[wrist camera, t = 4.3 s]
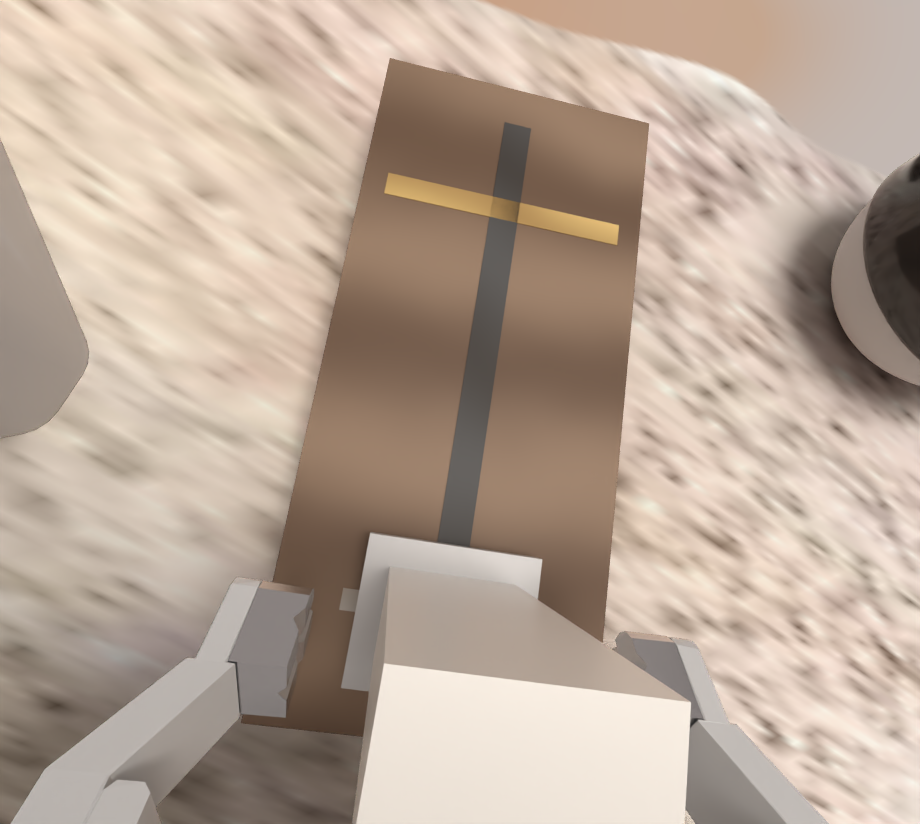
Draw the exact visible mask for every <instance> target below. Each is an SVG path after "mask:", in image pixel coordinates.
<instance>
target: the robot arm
mask: <svg viewBox="0 0 920 824" xmlns="http://www.w3.org/2000/svg"><path fill="white" fill-rule="evenodd" d="M313 599H314V588H308V587H301V586H295V585H288V584H281V583H274V582H268V581H263V580H256V579H249V578H241V577H236V578H235V580H234V581H233V582H232V583H231V585H230V587H229V589H228V591H227V593H226V595H225V597H224V599H223V601H222V603H221V605H220V607H219V610H218V612H217V614H216V616H215V618H214V620H213V622H212V624H211V626H210V628H209V630H208V632H207V634H206V637H205V639H204V641H203V643H202V645H201V647H200V649H199V651H198V653H197V655H196V657H195V658H189V657H187V658H185V659H184V660H183V661H182V662H180V663H179V664H178V665H176V666H175V667H174V668H173V669H171V670H170V671H169V672H168V673H166V674H165V675H164V676H162V677H161V678H160V679H159V680H157V681H156V682H155V683H154V684H152V685H151V686H150V687H148V688H147V689H146V690H145V691H143V692H142V693H141V694H140V695H138V696H137V697H136V698H134V699H133V700H132V701H131V702H129V703H128V704H127V705H126V706H124V707H123V708H122V709H120V710H119V711H118V712H117V713H115V714H114V715H113V716H112V717H110V718H109V719H108V720H106V721H105V722H104V723H103V724H101V725H100V726H99V727H98V728H96V729H95V730H94V731H93V732H91V733H90V734H89V735H87V736H86V737H85V738H84V739H82V740H81V741H80V742H79V743H77V744H76V745H75V746H73V747H72V748H71V749H70V750H68V751H67V752H66V753H65V754H63V755H62V756H61V757H59V758H58V759H57V760H56V761H54V762H53V763H52V764H51V765H49V766H48V767H47V768H45V769H44V771H43V773H42V774H41V776H40V777H39V779H38V781H37V782H36V784H35V785H34V787H33V789H32V790H31V792H30V793H29V795H28V797H27V798H26V800H25V801H24V803H23V805H22V806H21V808H20V809H19V811H18V813H17V814H16V816H15V817H14V819H13V821H12V822H11V824H162V823H161V820H160V818H159V815H158V812H157V809H156V807H157V805H158V804H159V803H160V802H161V801H162V800H163V799H164V798H165V797H166V796H167V795H168V794H169V793H170V792H171V790H172V789H173V788H174V787H175V786H176V785H177V784H178V783H179V782H180V781H181V780H182V779H183V778H184V777H185V775H186V774H187V773H188V772H189V771H190V770H191V769H192V768H193V767H194V766H195V765H196V764H197V763H198V762H199V760H200V759H201V758H202V757H203V756H204V755H205V754H206V753H207V752H208V751H209V750H210V749H211V748H212V747H213V745H214V744H215V743H216V742H217V741H218V740H219V739H220V738H221V737H222V736H223V735H224V734H225V733H226V731H227V730H228V729H229V728H230V727H231V726H232V725H233V724H234V723H235V722H236V721H237V720H238V719H239V718H240V714H247V715H259V716H271V717H283V718H286V716H287V712H288V709H289V705H290V702H291V699H292V695H293V692H294V689H295V685H296V681H297V664H298V663H299V662H300V661H302V660H303V658H304V654H305V650H306V647H307V643H308V639H309V634H310V630H311V624H312V616H313V611H312V610H311V606H312V602H313ZM615 641H616V645H617V647H615V648H613V649H612V650H614V651H615V652H617V653H618V654H620V655H621V656H623V657H624V658H626V659H627V660H629V661H630V662H632V663H633V664H635V665H636V666H638V667H639V668H641V669H642V670H644V671H645V672H647V673H648V674H650V675H651V676H653V677H654V678H656V679H657V680H659V681H660V682H662V683H663V684H665V685H666V686H668V687H669V688H671V689H672V690H674V691H675V692H677V693H678V694H680V695H681V696H683V697H684V698H686V699H687V700H689V701H690V702H691V713H690V732H689V750H688V769H687V787H686V806H685V809H686V810H687V812H688V813H689V815H690V816H691V818H692V819H693V821H694V822H695V824H829V823H828V822H827V821H826V820H825V819H824V818H823V817H822V816H821V815H820V814H819V813H818V812H817V811H816V809H815V808H814V807H813V806H812V805H811V804H810V803H809V802H808V801H807V800H806V799H805V798H804V797H803V795H802V794H801V793H800V792H799V791H798V790H797V789H796V788H795V787H794V786H793V785H792V784H791V783H790V781H789V780H788V779H787V778H786V777H785V776H784V775H783V774H782V773H781V772H780V771H779V770H778V769H777V767H776V766H775V765H774V764H773V763H772V762H771V761H770V760H769V759H768V758H767V757H766V756H765V755H764V753H763V752H762V751H761V750H760V749H759V748H758V747H757V746H756V745H755V744H754V743H753V742H752V741H751V739H750V738H749V737H748V736H747V735H746V734H745V733H744V732H743V731H742V730H741V729H740V728H739V727H738V725H737V724H731V723H729V720H728V718H727V716H726V713H725V711H724V708H723V706H722V704H721V701H720V699H719V696H718V694H717V692H716V689H715V687H714V684H713V682H712V680H711V677H710V675H709V672H708V670H707V668H706V665H705V663H704V661H703V658H702V656H701V653H700V651H699V649H698V647H697V645H696V644H695V643H694V642H693V641H691V640H688V639H680V638H672V637H667V636H661V635H653V634H644V633H636V632H628V631H624V632H622V633H620V634H619V635H618V637H617V638H616V639H615Z"/></svg>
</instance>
